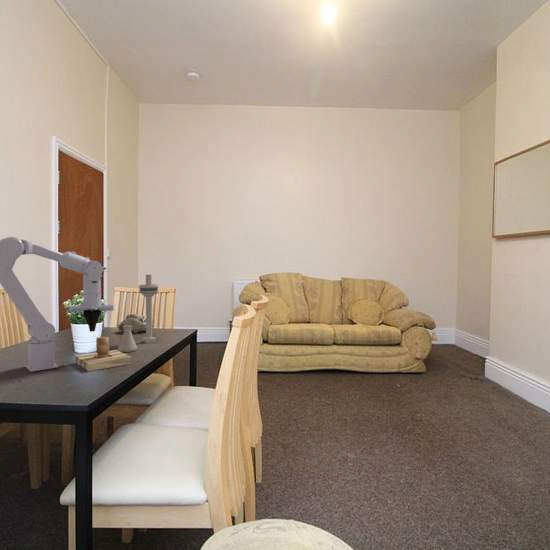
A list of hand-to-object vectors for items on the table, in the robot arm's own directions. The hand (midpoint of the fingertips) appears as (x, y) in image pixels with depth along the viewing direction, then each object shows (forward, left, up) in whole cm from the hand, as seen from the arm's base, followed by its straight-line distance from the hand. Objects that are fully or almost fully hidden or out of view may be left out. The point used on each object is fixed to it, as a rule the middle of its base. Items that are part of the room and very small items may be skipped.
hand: (92, 331), depth 137 cm
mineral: (-45, +35, -11) cm, 58 cm away
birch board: (+8, +1, -10) cm, 13 cm away
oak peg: (+8, +1, -10) cm, 13 cm away
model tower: (-17, +29, -11) cm, 35 cm away
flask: (-6, +15, -11) cm, 19 cm away
